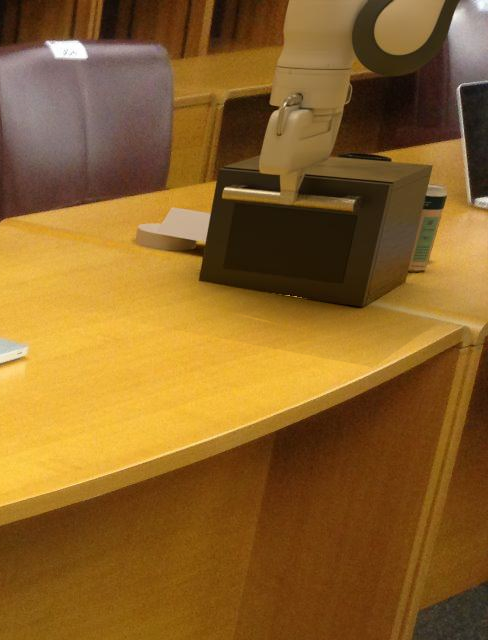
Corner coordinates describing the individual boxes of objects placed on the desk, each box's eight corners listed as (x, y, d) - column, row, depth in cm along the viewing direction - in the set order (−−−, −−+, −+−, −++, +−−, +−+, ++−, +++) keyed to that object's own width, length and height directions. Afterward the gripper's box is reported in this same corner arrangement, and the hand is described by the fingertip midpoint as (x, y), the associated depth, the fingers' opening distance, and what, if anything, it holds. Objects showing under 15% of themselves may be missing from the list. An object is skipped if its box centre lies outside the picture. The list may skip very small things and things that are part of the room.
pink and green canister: (399, 264, 229) (421, 181, 224) (431, 270, 226) (455, 186, 220) (384, 268, 227) (406, 184, 221) (416, 274, 223) (440, 190, 218)
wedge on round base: (228, 256, 236) (149, 242, 244) (238, 212, 233) (157, 199, 241) (204, 265, 230) (123, 250, 238) (213, 219, 227) (131, 206, 235)
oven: (365, 305, 205) (393, 182, 198) (202, 283, 218) (222, 166, 211) (405, 281, 219) (433, 165, 212) (249, 262, 232) (270, 151, 225)
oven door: (351, 312, 201) (379, 188, 194) (185, 289, 213) (206, 172, 206) (365, 305, 205) (393, 183, 198) (201, 282, 218) (222, 167, 211)
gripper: (311, 99, 185) (288, 216, 191) (356, 87, 200) (333, 197, 206) (258, 95, 189) (237, 211, 195) (305, 85, 203) (284, 192, 209)
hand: (286, 203), depth 201 cm, fingers closed, pressing on oven door
